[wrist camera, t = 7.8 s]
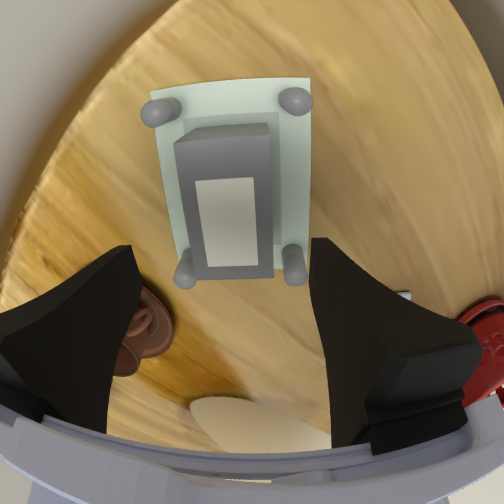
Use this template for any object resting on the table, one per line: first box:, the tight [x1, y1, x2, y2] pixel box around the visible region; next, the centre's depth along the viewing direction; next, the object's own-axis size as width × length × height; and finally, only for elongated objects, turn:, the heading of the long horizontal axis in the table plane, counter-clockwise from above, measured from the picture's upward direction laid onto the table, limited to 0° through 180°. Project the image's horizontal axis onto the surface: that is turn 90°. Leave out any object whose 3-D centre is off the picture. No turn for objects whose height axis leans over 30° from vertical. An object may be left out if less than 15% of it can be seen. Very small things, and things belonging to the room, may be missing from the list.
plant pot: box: [458, 300, 504, 409], centre depth 23 cm, size 13×13×12 cm
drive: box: [173, 123, 274, 280], centre depth 16 cm, size 8×4×5 cm, turn 3°
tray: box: [141, 78, 313, 289], centre depth 18 cm, size 14×10×4 cm
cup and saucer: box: [113, 286, 174, 377], centre depth 24 cm, size 12×12×6 cm
